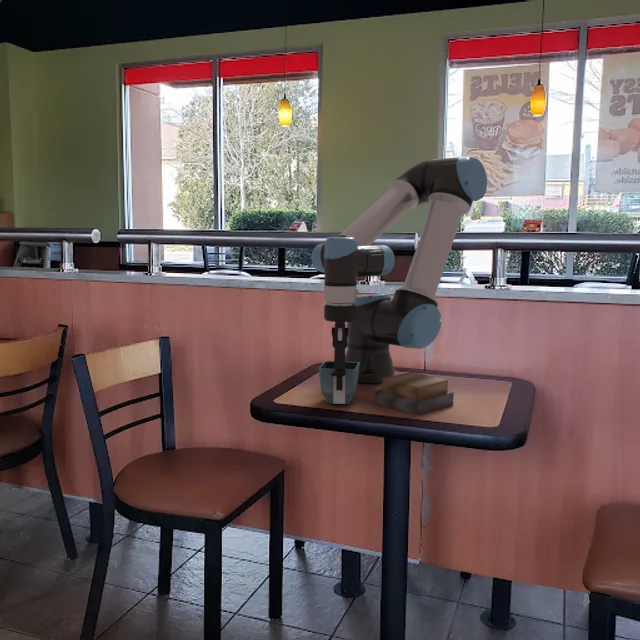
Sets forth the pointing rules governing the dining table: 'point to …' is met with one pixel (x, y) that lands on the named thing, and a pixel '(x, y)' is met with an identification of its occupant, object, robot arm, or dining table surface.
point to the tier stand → (414, 393)
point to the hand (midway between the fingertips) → (339, 397)
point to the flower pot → (328, 380)
